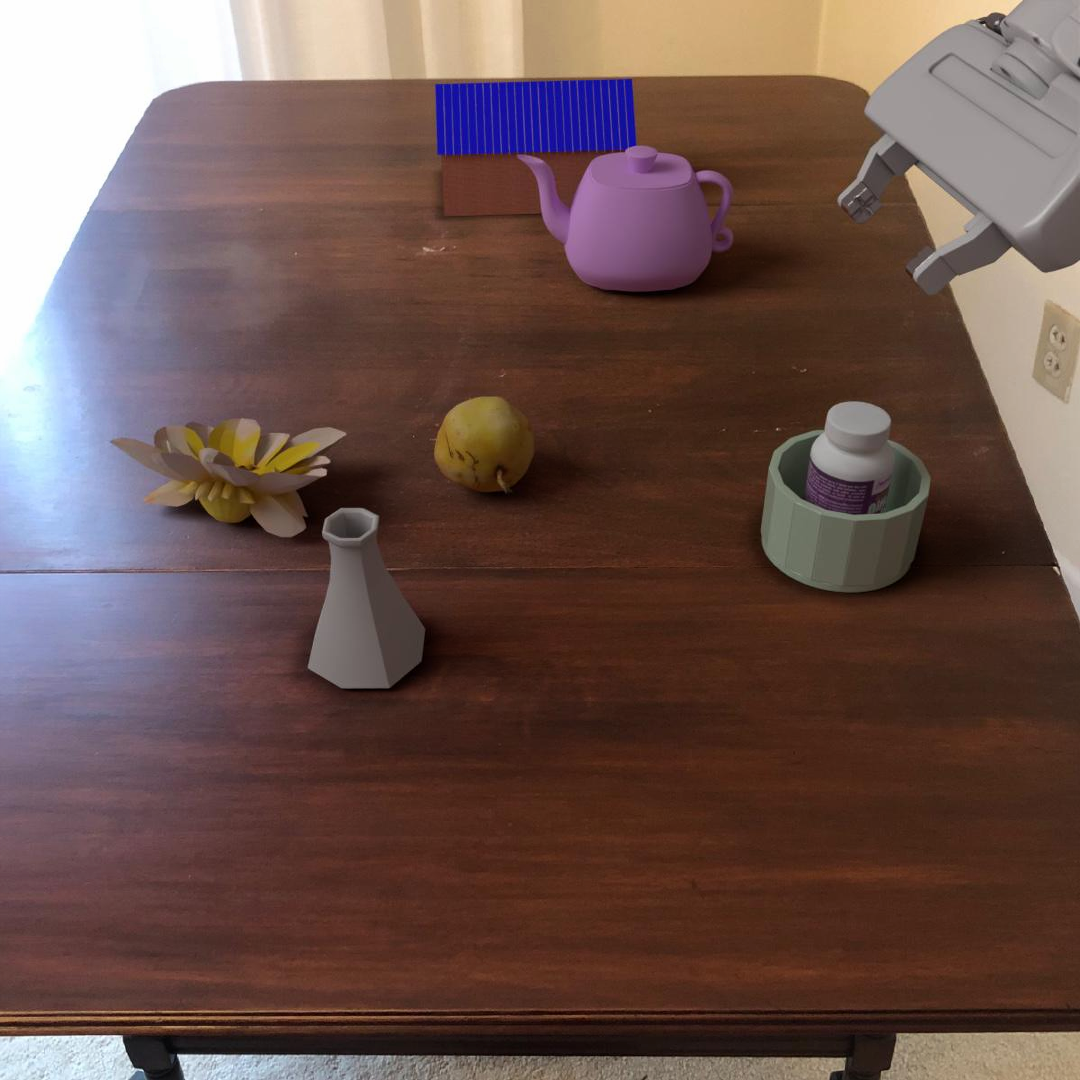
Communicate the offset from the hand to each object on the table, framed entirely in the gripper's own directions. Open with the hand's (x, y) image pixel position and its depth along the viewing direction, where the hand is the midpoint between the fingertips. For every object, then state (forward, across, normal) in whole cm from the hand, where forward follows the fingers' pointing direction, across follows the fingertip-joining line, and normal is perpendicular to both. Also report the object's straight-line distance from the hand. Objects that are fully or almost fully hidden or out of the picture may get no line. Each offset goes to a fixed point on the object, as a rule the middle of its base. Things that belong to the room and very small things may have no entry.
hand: (880, 246), depth 70 cm
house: (+21, -64, +10) cm, 68 cm away
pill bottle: (+15, 0, +16) cm, 21 cm away
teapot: (+18, -43, +13) cm, 49 cm away
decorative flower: (+43, -13, -12) cm, 46 cm away
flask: (+38, +4, -7) cm, 39 cm away
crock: (+15, 0, +16) cm, 22 cm away
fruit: (+31, -12, 0) cm, 33 cm away
